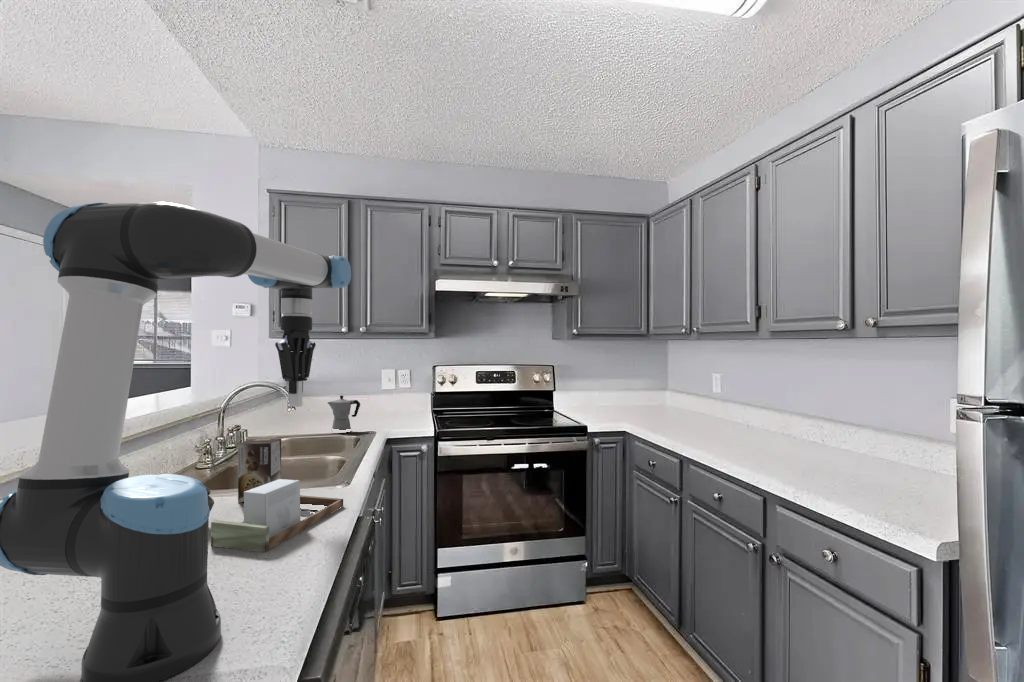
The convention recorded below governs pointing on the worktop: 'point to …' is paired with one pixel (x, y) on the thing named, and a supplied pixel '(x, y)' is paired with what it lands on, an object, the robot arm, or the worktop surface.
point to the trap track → (267, 528)
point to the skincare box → (273, 505)
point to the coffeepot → (342, 412)
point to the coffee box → (258, 464)
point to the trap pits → (306, 513)
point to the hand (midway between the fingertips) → (295, 406)
